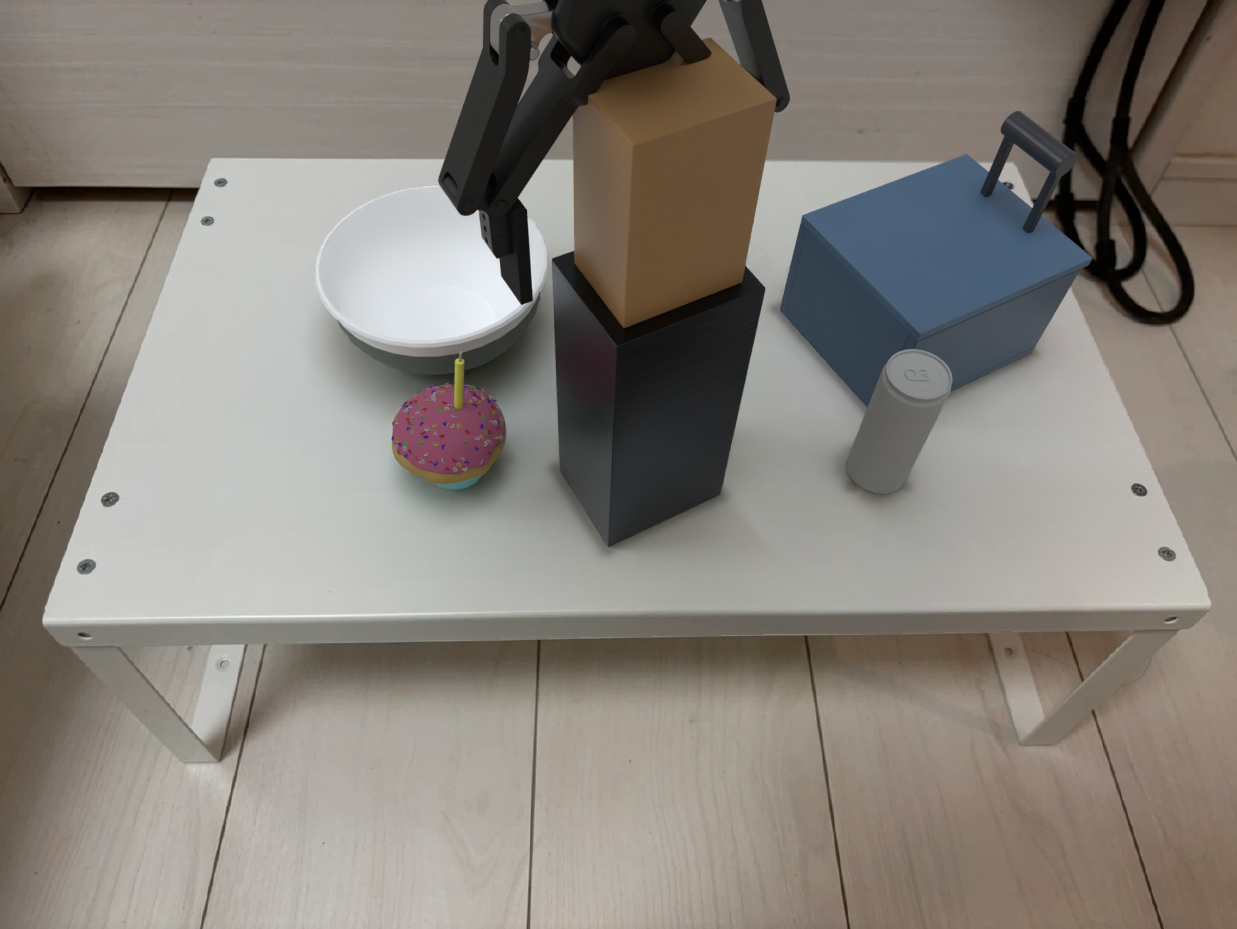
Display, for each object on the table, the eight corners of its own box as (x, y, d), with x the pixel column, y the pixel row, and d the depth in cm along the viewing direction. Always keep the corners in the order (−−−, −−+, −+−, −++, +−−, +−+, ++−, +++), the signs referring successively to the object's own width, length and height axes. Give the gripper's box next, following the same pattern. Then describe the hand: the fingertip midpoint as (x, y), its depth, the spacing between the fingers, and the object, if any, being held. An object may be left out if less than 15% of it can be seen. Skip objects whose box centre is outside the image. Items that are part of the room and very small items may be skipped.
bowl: (355, 436, 74) (333, 368, 67) (320, 279, 84) (297, 206, 77) (578, 383, 78) (578, 313, 71) (519, 239, 88) (514, 166, 81)
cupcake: (467, 407, 76) (450, 302, 66) (533, 471, 73) (525, 370, 63) (379, 463, 73) (347, 361, 63) (444, 533, 69) (421, 437, 59)
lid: (963, 161, 81) (998, 73, 74) (1088, 265, 74) (1139, 179, 67) (800, 222, 76) (821, 134, 69) (917, 341, 68) (954, 256, 62)
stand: (721, 495, 72) (766, 287, 54) (608, 547, 69) (616, 347, 51) (668, 422, 76) (693, 207, 58) (559, 469, 73) (551, 258, 55)
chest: (922, 250, 89) (956, 164, 81) (1031, 353, 82) (1081, 269, 74) (779, 309, 84) (800, 223, 76) (882, 424, 77) (917, 342, 68)
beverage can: (910, 498, 72) (961, 401, 63) (848, 497, 72) (890, 399, 62) (900, 448, 75) (947, 348, 65) (840, 447, 75) (879, 346, 65)
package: (742, 282, 54) (777, 98, 44) (623, 329, 52) (632, 145, 42) (688, 221, 57) (710, 36, 47) (573, 263, 55) (571, 76, 45)
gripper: (819, -221, 44) (754, 157, 62) (312, -119, 37) (400, 280, 54) (922, -160, 41) (822, 224, 58) (382, -33, 33) (452, 365, 50)
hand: (618, 251), depth 56 cm, fingers open, 13 cm apart
